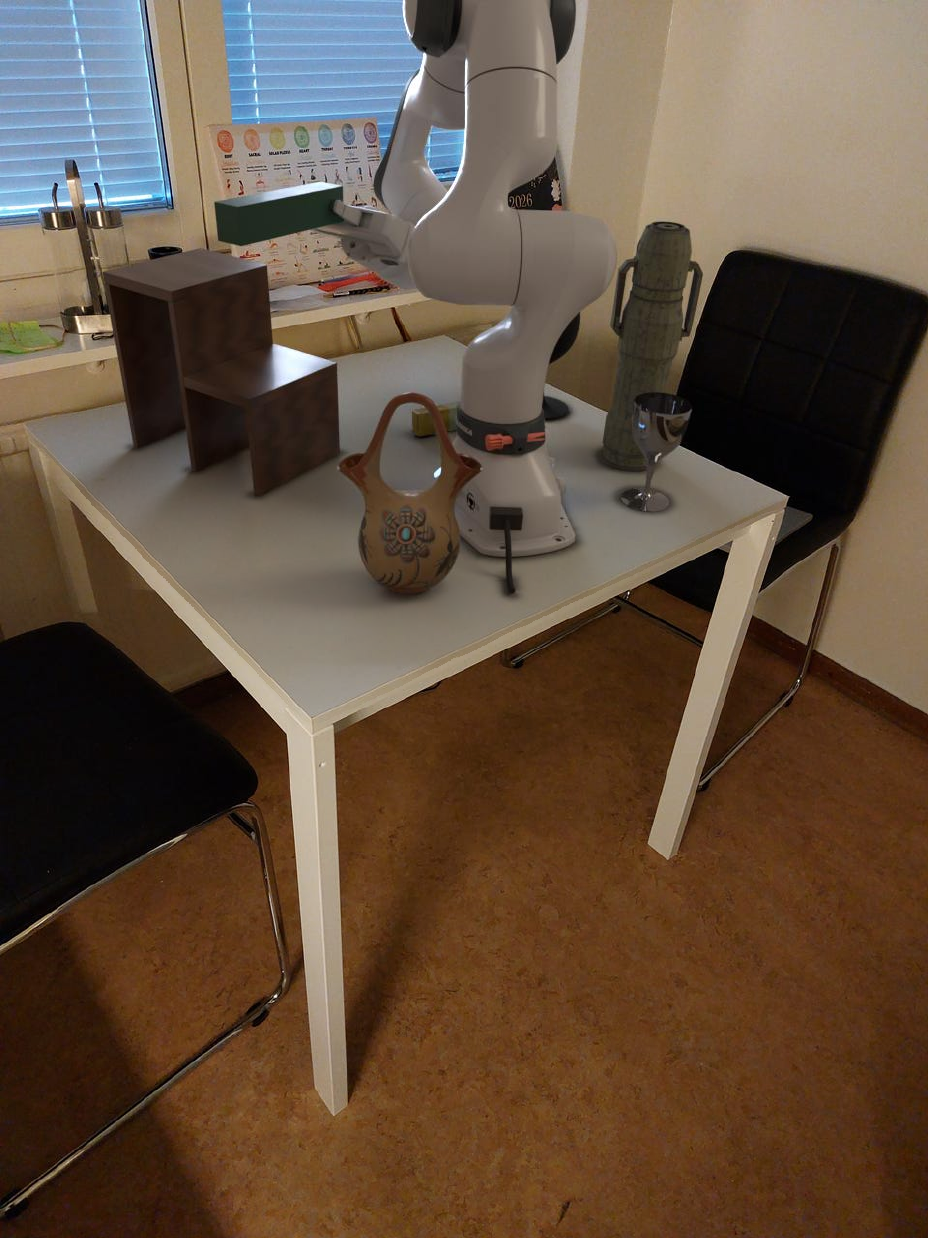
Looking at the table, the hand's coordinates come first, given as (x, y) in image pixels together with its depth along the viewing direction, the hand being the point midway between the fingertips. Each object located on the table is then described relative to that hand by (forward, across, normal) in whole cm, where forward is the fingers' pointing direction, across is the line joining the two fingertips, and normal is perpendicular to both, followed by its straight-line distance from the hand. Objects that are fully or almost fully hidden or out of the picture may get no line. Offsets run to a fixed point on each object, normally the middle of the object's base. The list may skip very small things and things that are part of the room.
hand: (318, 201), depth 134 cm
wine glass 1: (-37, +28, +17) cm, 50 cm away
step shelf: (+2, 0, +39) cm, 39 cm away
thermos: (-30, +50, +21) cm, 61 cm away
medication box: (-22, +21, +26) cm, 39 cm away
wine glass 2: (-20, +57, +27) cm, 66 cm away
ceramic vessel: (+14, +43, +47) cm, 65 cm away
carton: (+5, 0, +6) cm, 8 cm away
